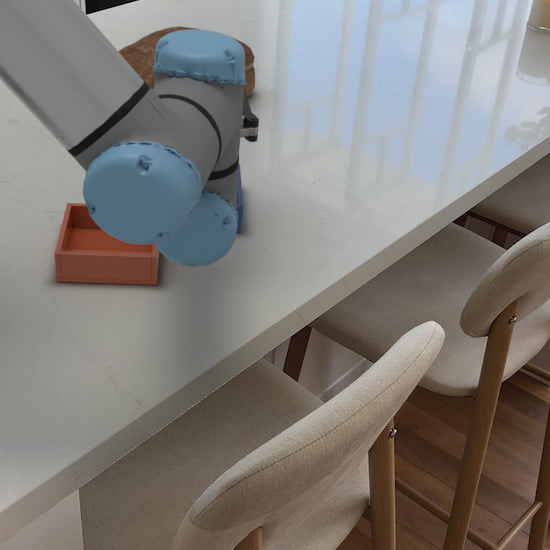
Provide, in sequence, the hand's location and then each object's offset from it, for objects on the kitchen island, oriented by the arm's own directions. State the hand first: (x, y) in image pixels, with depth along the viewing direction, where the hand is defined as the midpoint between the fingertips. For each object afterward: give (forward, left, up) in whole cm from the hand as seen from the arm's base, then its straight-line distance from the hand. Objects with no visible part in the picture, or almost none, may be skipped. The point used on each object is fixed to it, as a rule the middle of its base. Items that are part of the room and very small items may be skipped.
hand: (198, 69), depth 108 cm
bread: (-4, +27, -18) cm, 32 cm away
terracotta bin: (-10, -15, -18) cm, 25 cm away
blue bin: (0, -3, -18) cm, 18 cm away
